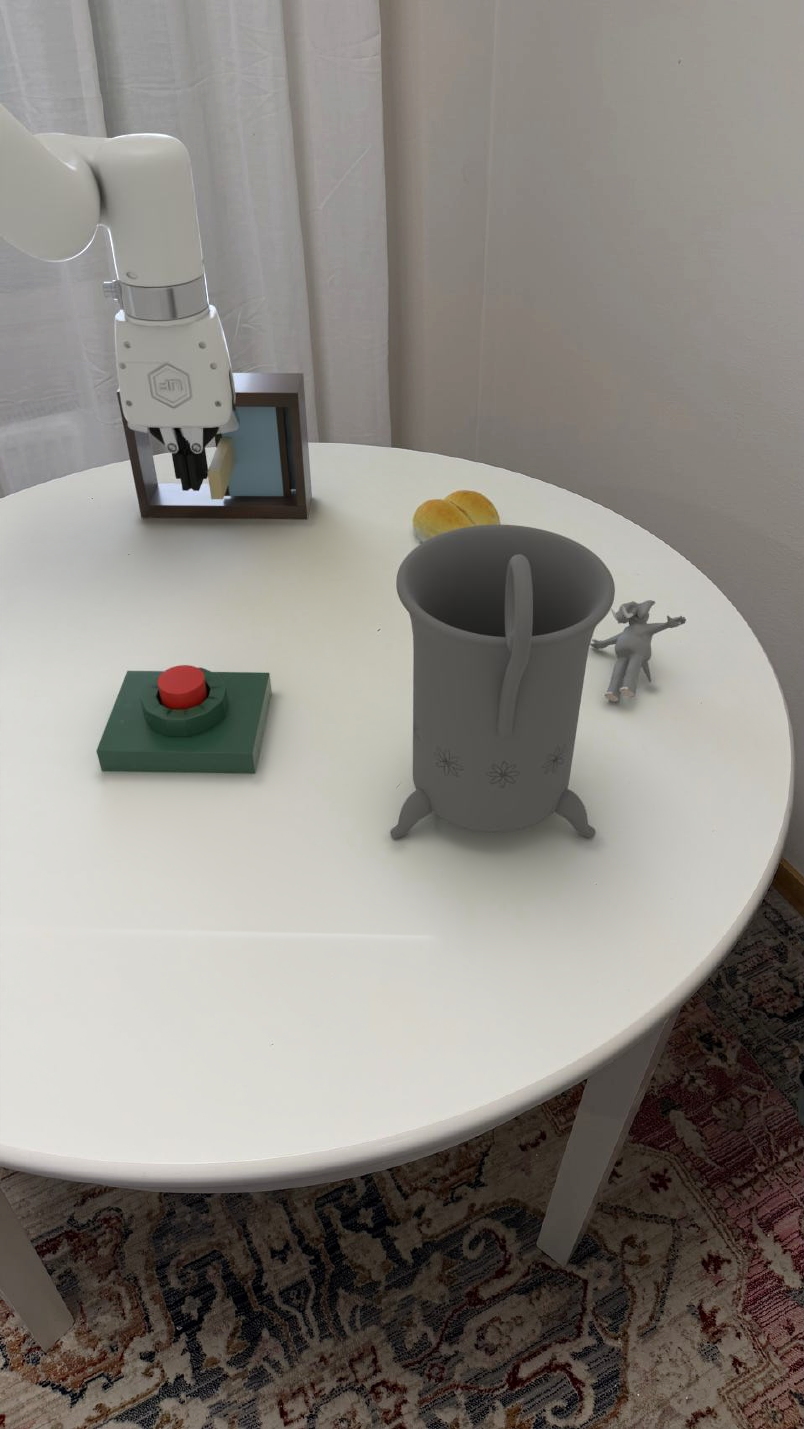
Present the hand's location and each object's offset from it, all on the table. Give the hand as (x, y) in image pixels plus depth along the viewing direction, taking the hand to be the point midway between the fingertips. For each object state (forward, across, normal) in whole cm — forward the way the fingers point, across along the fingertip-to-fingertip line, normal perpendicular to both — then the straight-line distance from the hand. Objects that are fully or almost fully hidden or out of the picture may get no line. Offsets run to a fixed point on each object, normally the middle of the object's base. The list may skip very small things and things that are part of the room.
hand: (193, 484), depth 101 cm
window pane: (+4, +5, +2) cm, 7 cm away
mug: (+6, +29, -38) cm, 48 cm away
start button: (+3, +5, -30) cm, 31 cm away
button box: (+6, +5, -30) cm, 31 cm away
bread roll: (+6, +27, +2) cm, 27 cm away
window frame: (+6, +2, +7) cm, 9 cm away
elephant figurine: (+6, +42, -22) cm, 48 cm away
